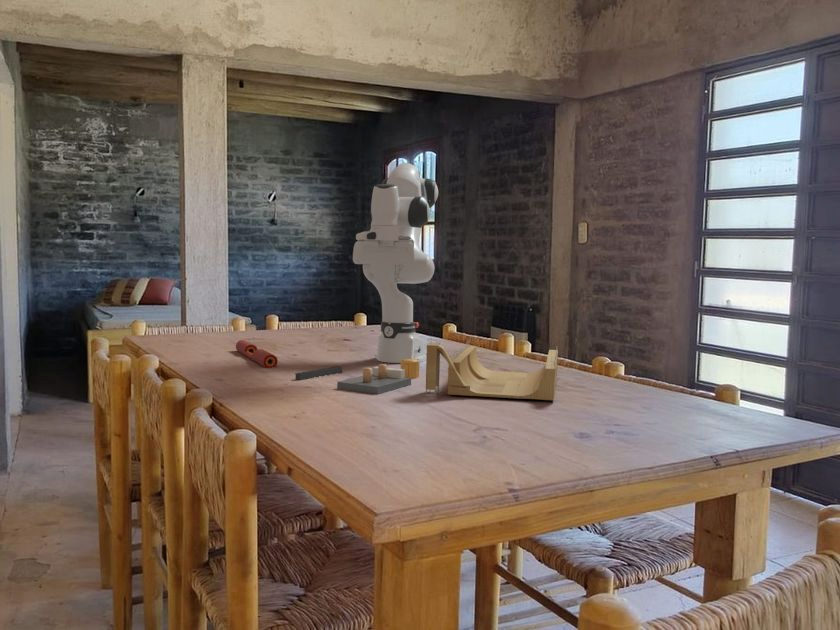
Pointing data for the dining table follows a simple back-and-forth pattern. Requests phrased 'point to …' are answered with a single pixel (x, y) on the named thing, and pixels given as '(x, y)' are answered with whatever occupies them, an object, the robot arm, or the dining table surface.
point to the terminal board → (376, 380)
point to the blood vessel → (256, 354)
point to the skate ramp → (489, 376)
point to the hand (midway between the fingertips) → (383, 279)
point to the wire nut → (410, 367)
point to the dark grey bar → (318, 373)
